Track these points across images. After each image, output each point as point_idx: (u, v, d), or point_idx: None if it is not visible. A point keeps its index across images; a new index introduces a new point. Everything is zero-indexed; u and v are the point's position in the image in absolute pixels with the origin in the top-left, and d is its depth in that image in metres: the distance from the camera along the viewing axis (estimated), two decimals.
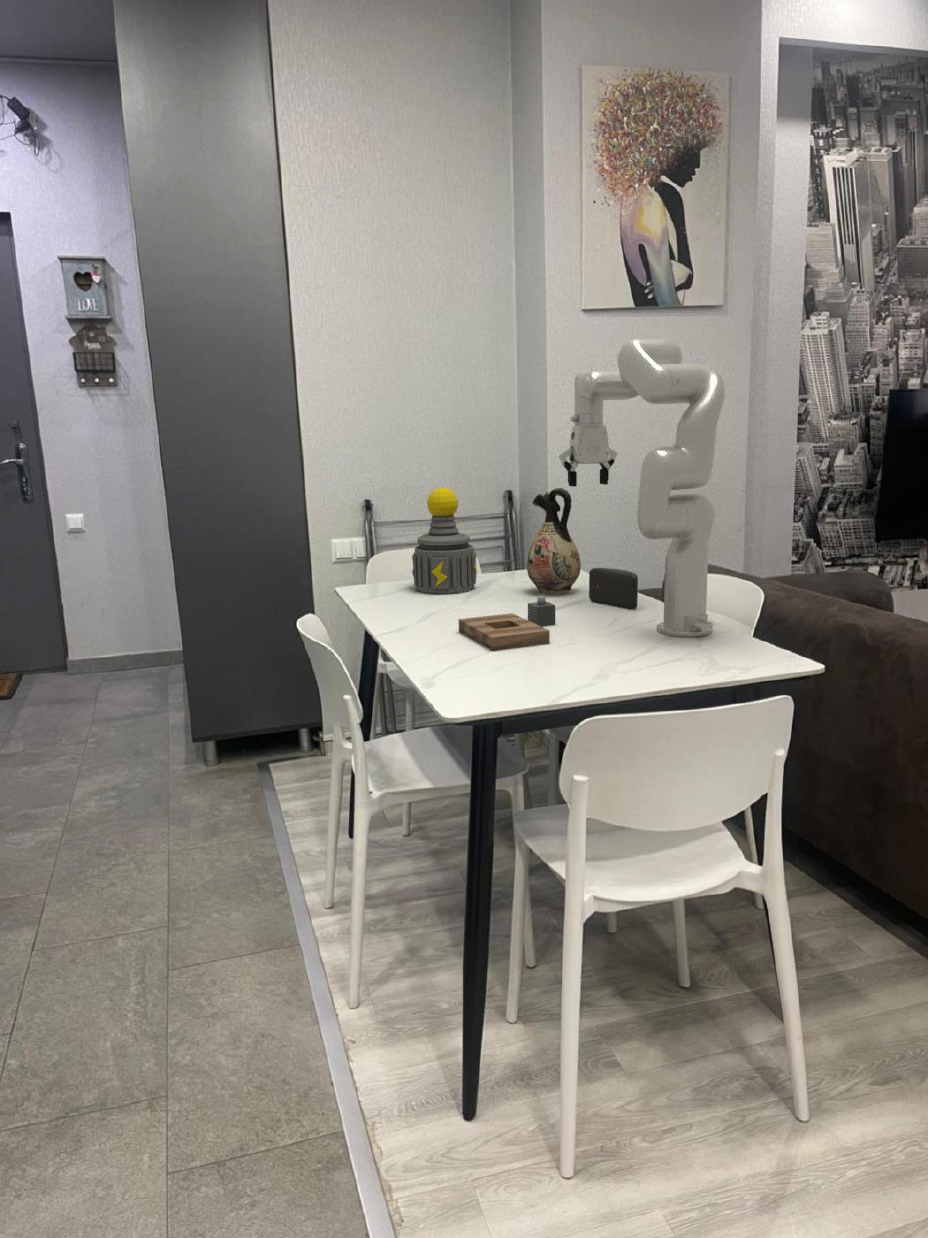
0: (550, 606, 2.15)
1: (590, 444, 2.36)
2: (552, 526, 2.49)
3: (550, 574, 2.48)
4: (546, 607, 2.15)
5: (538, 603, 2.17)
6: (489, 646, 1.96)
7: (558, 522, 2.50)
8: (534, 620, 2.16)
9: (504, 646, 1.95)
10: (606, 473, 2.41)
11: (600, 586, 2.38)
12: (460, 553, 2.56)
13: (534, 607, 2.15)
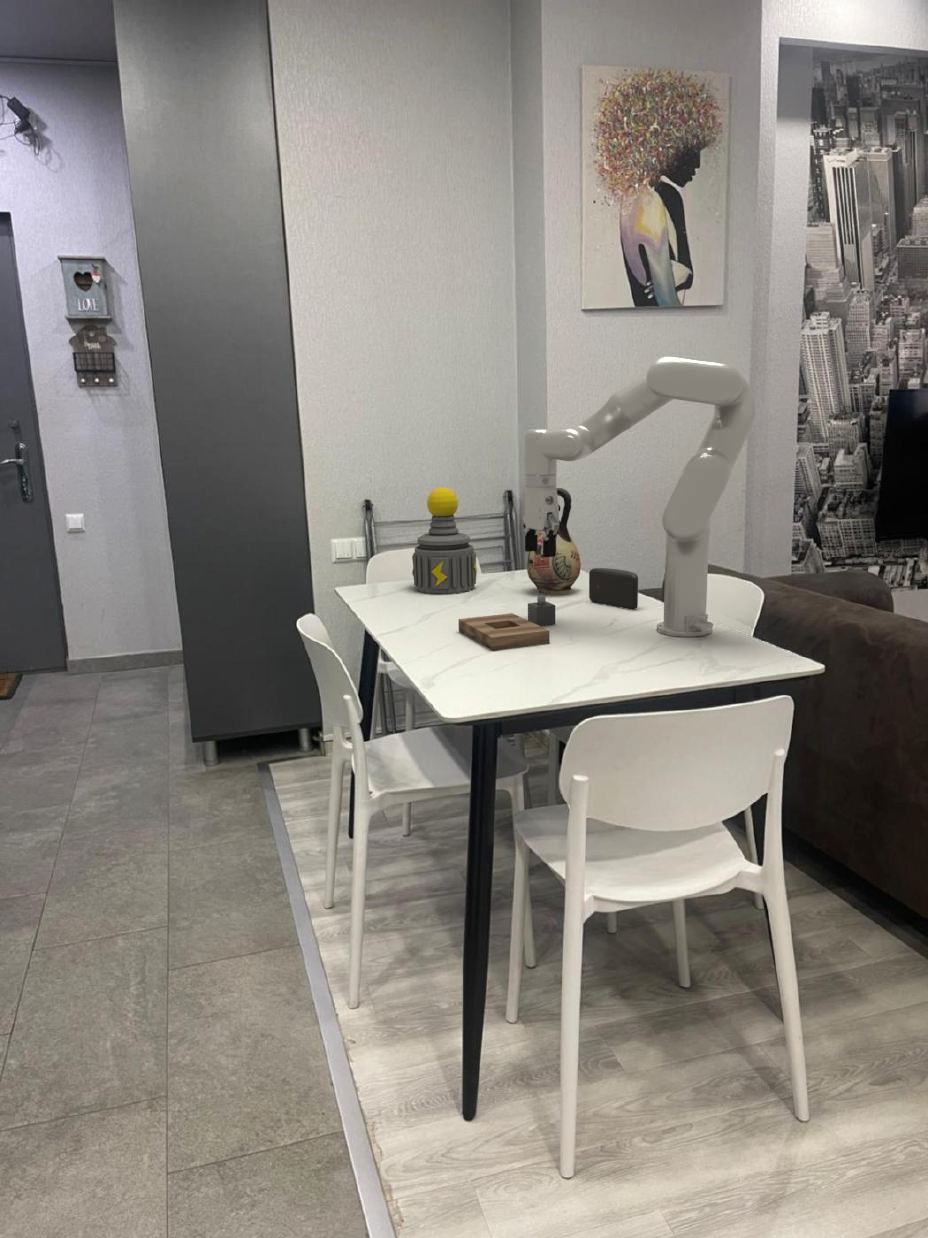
0: (550, 606, 2.15)
1: None
2: None
3: (550, 574, 2.48)
4: (546, 607, 2.15)
5: (538, 603, 2.17)
6: (489, 646, 1.96)
7: None
8: (534, 620, 2.16)
9: (504, 646, 1.95)
10: None
11: (600, 586, 2.37)
12: (460, 553, 2.56)
13: (534, 607, 2.15)
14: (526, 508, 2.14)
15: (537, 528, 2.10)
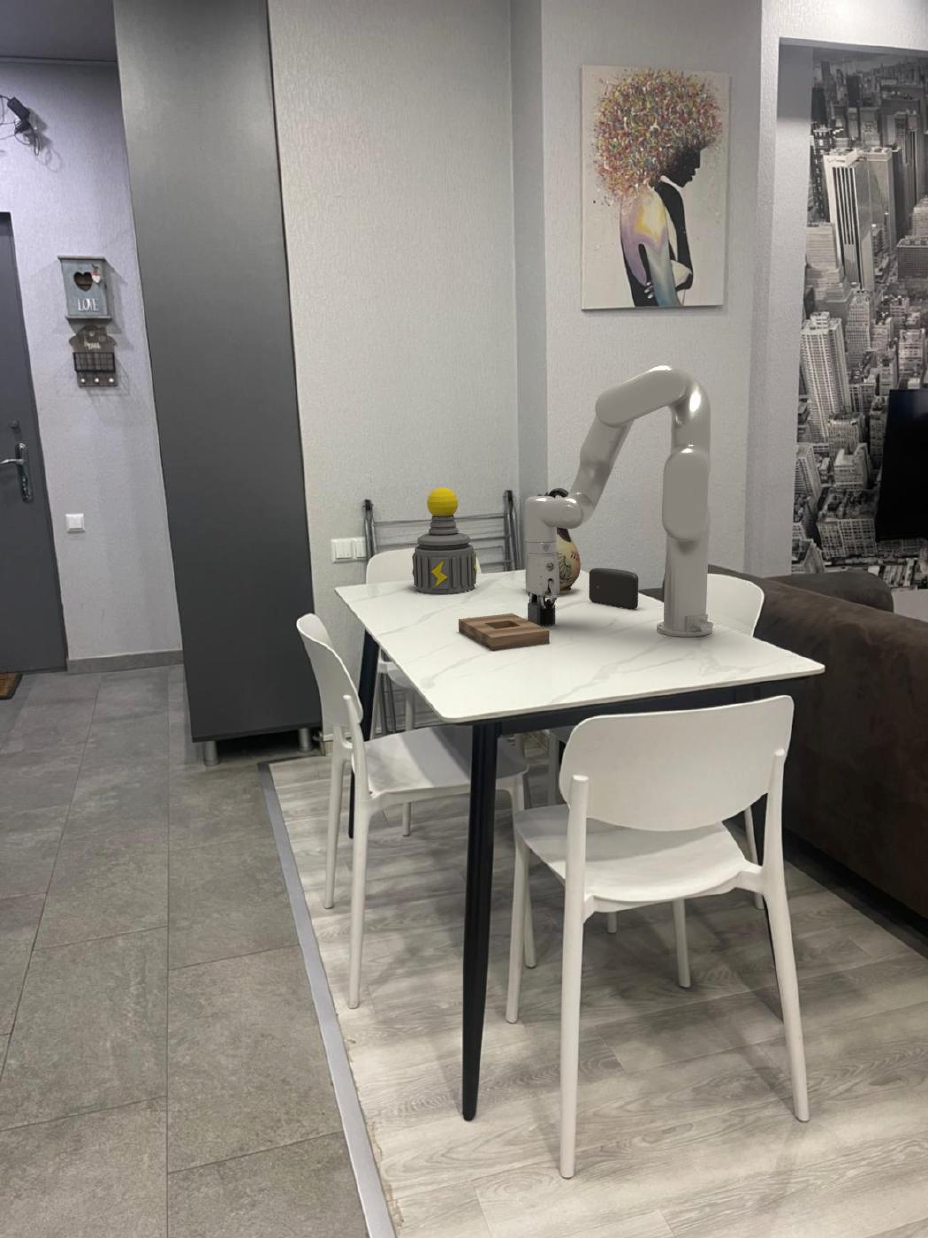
0: None
1: None
2: None
3: None
4: None
5: (538, 603, 2.17)
6: (489, 646, 1.96)
7: None
8: (534, 619, 2.16)
9: (504, 646, 1.95)
10: None
11: (600, 586, 2.37)
12: (460, 553, 2.56)
13: (534, 607, 2.15)
14: (527, 573, 2.17)
15: (538, 593, 2.13)
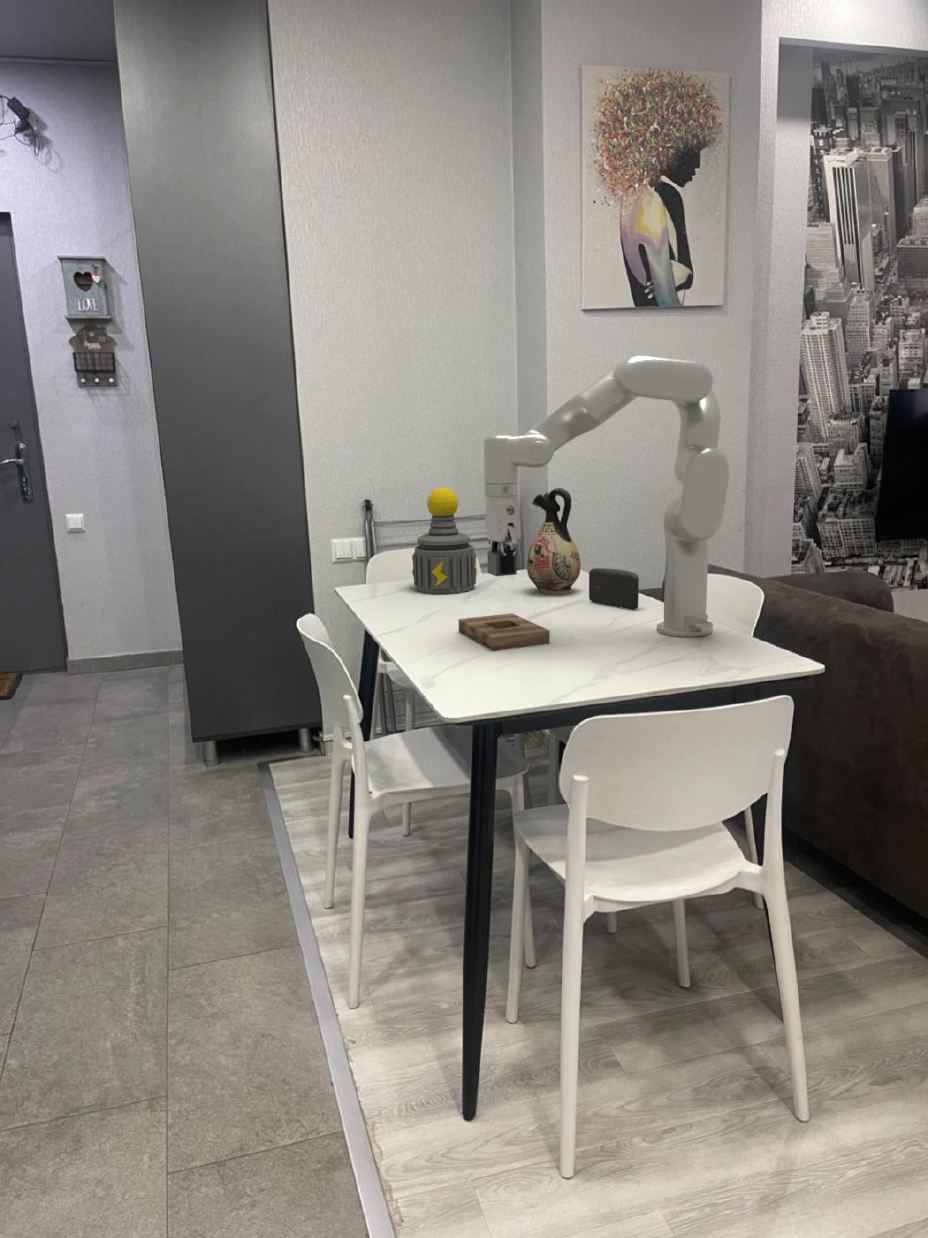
0: None
1: None
2: (552, 526, 2.49)
3: (550, 574, 2.48)
4: None
5: (498, 550, 2.01)
6: (489, 646, 1.96)
7: (558, 522, 2.50)
8: (494, 568, 2.01)
9: (504, 646, 1.95)
10: None
11: (600, 586, 2.37)
12: (460, 553, 2.56)
13: (493, 554, 2.00)
14: (487, 518, 2.02)
15: (498, 540, 1.98)
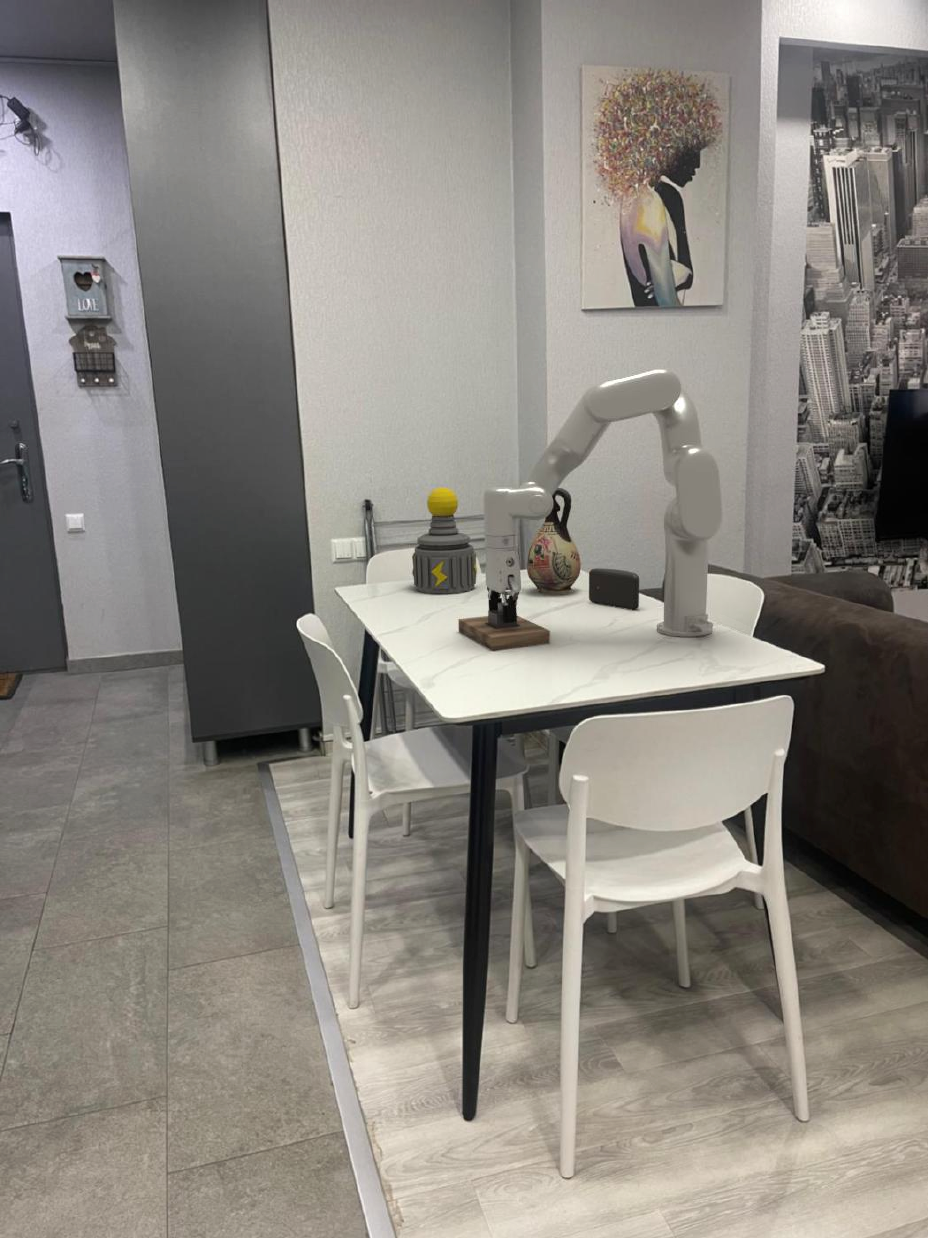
0: None
1: None
2: (552, 526, 2.49)
3: (550, 574, 2.48)
4: None
5: (499, 611, 2.04)
6: (489, 646, 1.96)
7: (558, 522, 2.50)
8: (494, 628, 2.03)
9: (504, 646, 1.95)
10: None
11: (600, 587, 2.37)
12: (460, 553, 2.56)
13: (494, 615, 2.03)
14: (487, 569, 2.04)
15: (498, 591, 2.00)
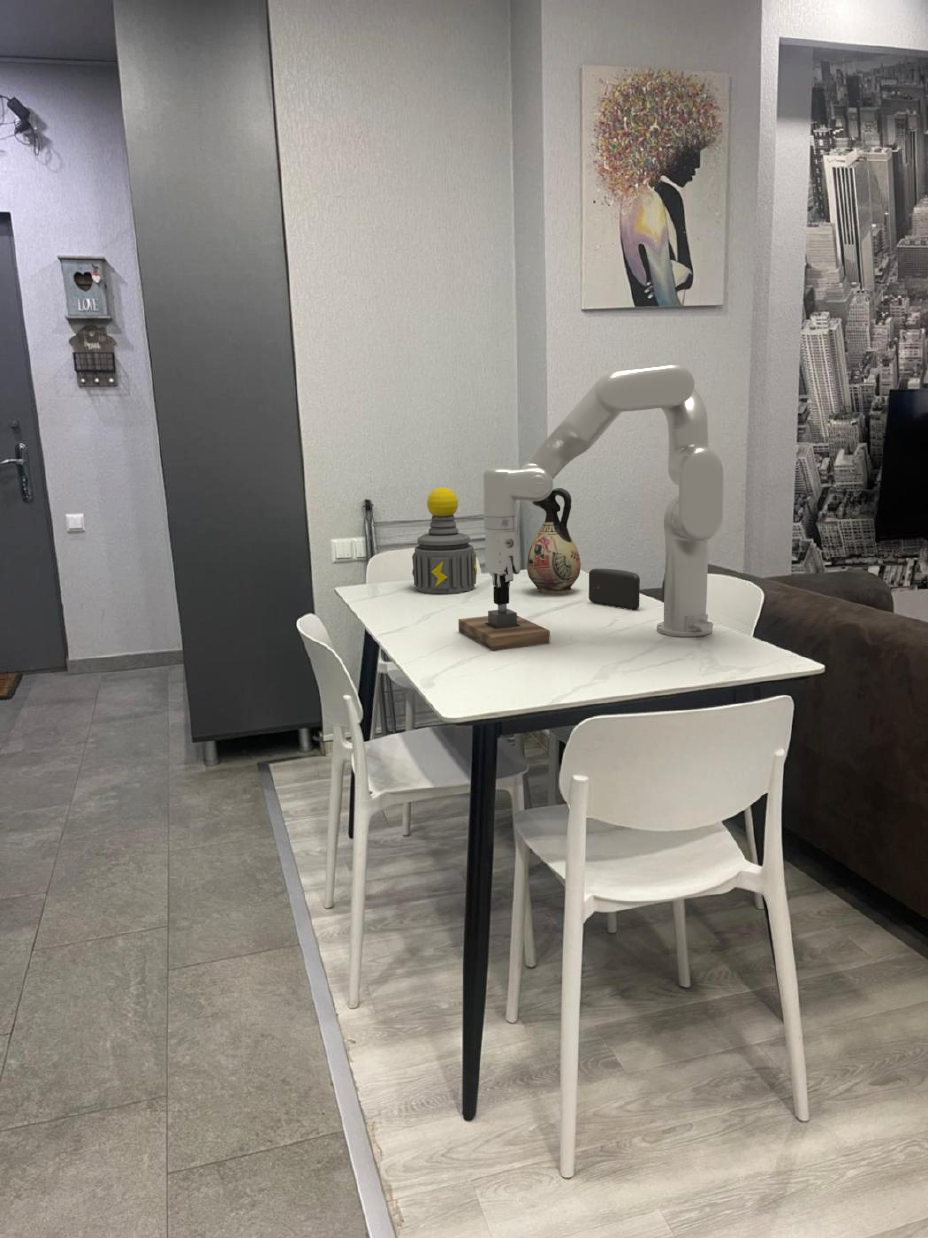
0: (511, 614, 2.03)
1: None
2: (552, 526, 2.49)
3: (550, 574, 2.48)
4: (507, 615, 2.03)
5: (499, 611, 2.04)
6: (489, 646, 1.96)
7: (558, 522, 2.50)
8: (494, 628, 2.03)
9: (504, 646, 1.95)
10: None
11: (600, 587, 2.37)
12: (460, 553, 2.56)
13: (494, 615, 2.03)
14: (486, 550, 2.03)
15: (497, 572, 1.99)
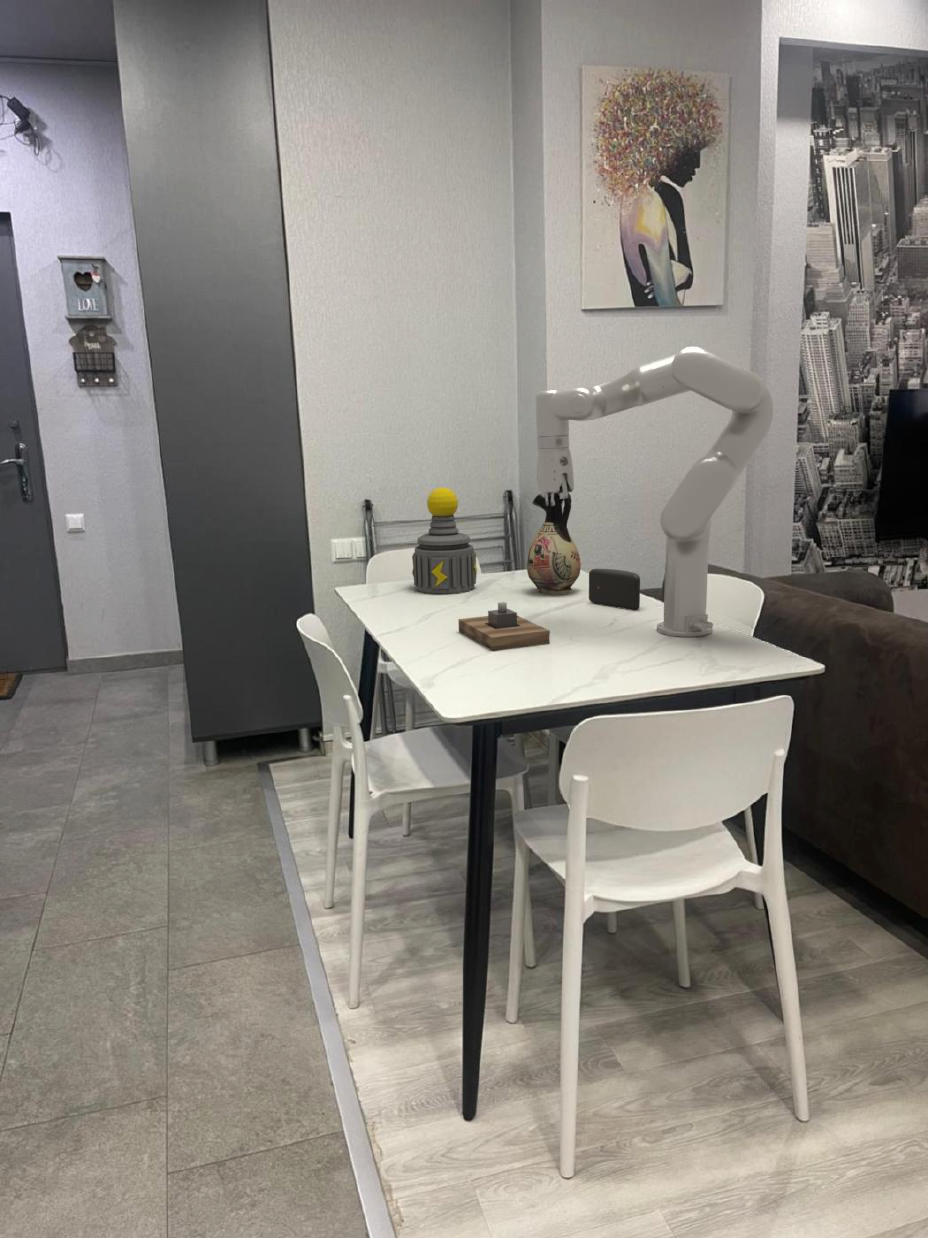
0: (511, 614, 2.03)
1: None
2: (552, 526, 2.49)
3: (550, 574, 2.48)
4: (507, 615, 2.03)
5: (499, 611, 2.04)
6: (489, 646, 1.96)
7: (558, 522, 2.50)
8: (494, 628, 2.03)
9: (504, 646, 1.95)
10: None
11: (600, 587, 2.36)
12: (460, 553, 2.56)
13: (494, 615, 2.03)
14: (539, 471, 2.12)
15: (552, 490, 2.08)
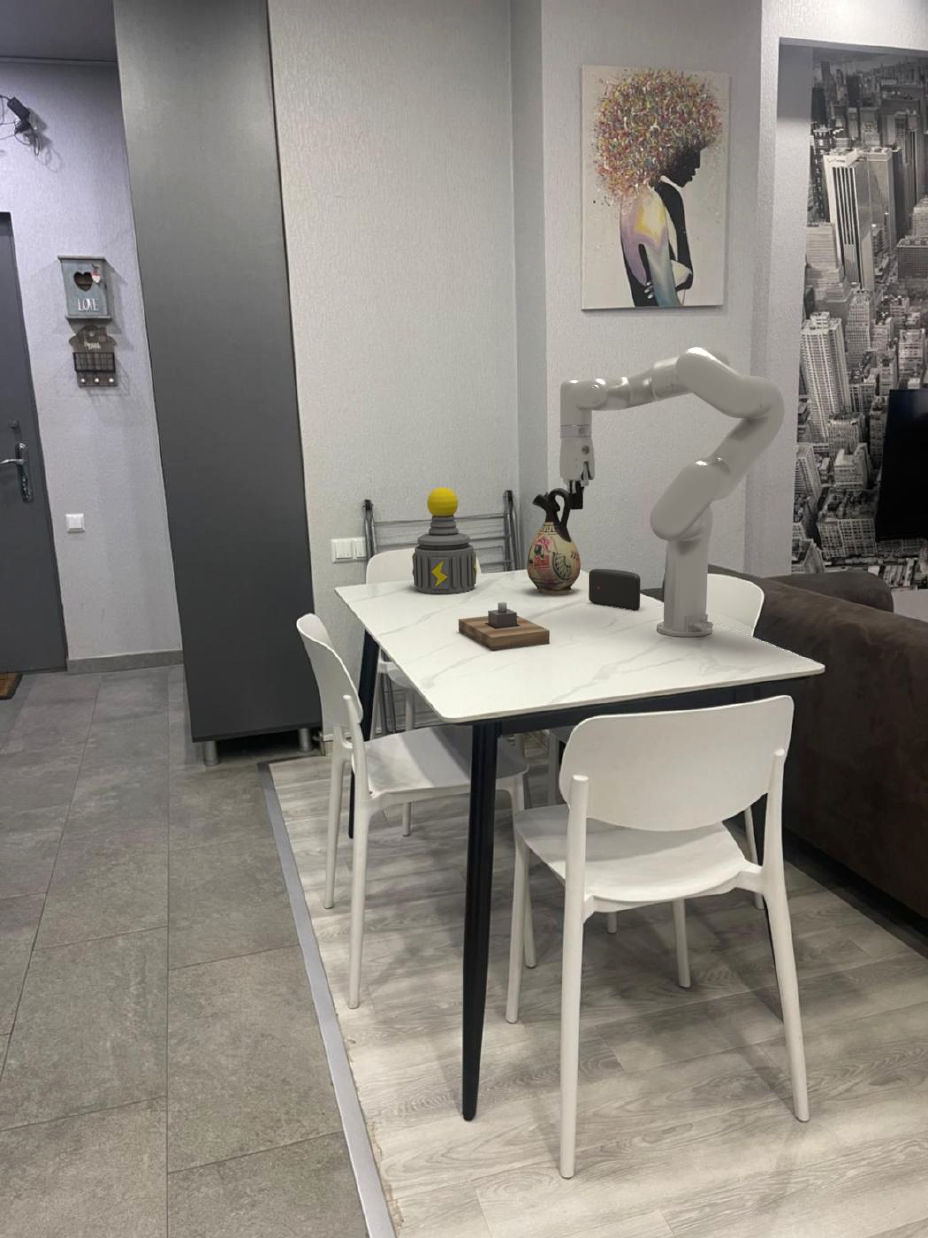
0: (511, 614, 2.03)
1: None
2: (552, 526, 2.49)
3: (550, 574, 2.48)
4: (507, 615, 2.03)
5: (499, 611, 2.04)
6: (489, 646, 1.96)
7: (558, 522, 2.50)
8: (494, 628, 2.03)
9: (504, 646, 1.95)
10: None
11: (601, 587, 2.36)
12: (460, 553, 2.56)
13: (494, 615, 2.03)
14: (562, 459, 2.18)
15: (573, 478, 2.14)
